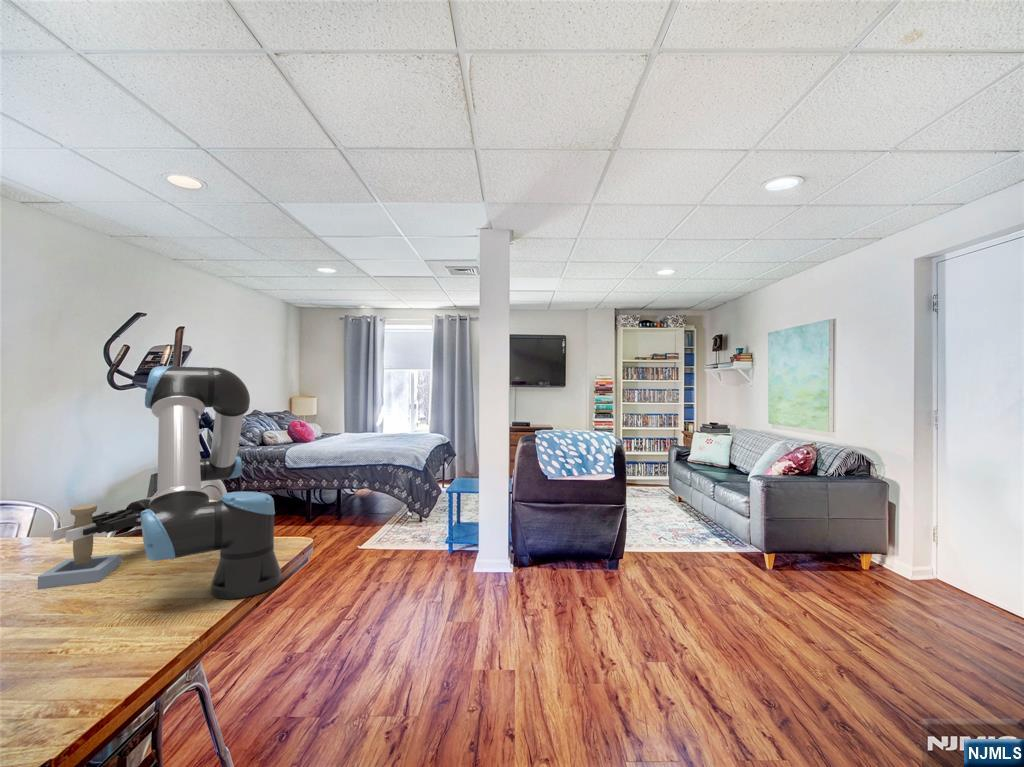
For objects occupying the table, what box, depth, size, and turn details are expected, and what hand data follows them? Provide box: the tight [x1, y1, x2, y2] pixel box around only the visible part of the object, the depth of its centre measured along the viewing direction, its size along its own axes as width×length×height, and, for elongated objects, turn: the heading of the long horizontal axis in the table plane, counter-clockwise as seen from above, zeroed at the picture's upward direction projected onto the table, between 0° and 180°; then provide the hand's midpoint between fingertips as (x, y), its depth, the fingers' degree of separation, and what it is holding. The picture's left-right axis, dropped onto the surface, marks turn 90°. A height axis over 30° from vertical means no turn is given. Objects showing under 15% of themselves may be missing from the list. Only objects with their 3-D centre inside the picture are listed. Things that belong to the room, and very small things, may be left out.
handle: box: [70, 503, 98, 565], centre depth 117 cm, size 5×6×15 cm
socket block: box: [37, 553, 122, 590], centre depth 116 cm, size 12×12×3 cm
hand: (60, 536), depth 111 cm, fingers closed on handle, 3 cm apart
